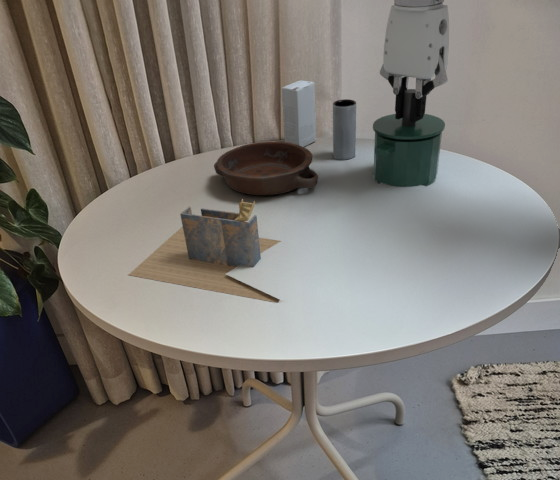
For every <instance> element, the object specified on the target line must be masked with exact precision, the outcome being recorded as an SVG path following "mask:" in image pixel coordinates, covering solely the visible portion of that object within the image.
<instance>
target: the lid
mask: <svg viewBox="0 0 560 480" xmlns="http://www.w3.org/2000/svg"><path fill="white" fill-rule="evenodd" d="M415 90H416V88H407V90H405V91H404V100H403V114H402V118H401V119H395V114H396V113H392V114H388V115H384V116H381V117H379V118H377V119H376V120H375V121H373V123H372V130H373V131H374V133H375V132H376V133H377V134H379V135H381V136H384V137H388V138H393V139H404V140H412V139H422V138H428V137H432V136H435V135H437V134H439V133H441V132H442V133H443V131H444V130H445V128H446V123H445V121H444V120H443V119H442V118H440V117H438V116H435V115H433V114H428V113H425V114H424V116H423V118H422V119H420V120H419V121H417V122H415V123H413V122H411V121H410V118H411V105H412V99H413V98H414V97H415Z"/></svg>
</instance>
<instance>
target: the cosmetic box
mask: <svg viewBox="0 0 560 480" xmlns="http://www.w3.org/2000/svg"><path fill="white" fill-rule="evenodd" d="M281 97H282V117H283V119H282V120H283V135H284V136H283V137H284V142H288V143H293V144H297V145H300V146H302V147H304V148H306V147H307V146H309V145H310V144H313V143H315V142H316V141H317V121H316V120H317V119H316V83H315V81H309V80H302V79H301V80H297V81H295V82H292V83H290V84H287V85H285V86H282V87H281Z"/></svg>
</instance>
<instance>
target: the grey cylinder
mask: <svg viewBox="0 0 560 480" xmlns="http://www.w3.org/2000/svg"><path fill="white" fill-rule="evenodd" d="M356 143H357V102H356V101H355V100H354V99H347V98H346V99H337V100H335V101H333V103H332V155H333V156H332V157H333V158H334V159H337V160H343V161H345V160H352V159H353V158H355V157H356V149H357V148H356V147H357V144H356Z"/></svg>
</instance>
